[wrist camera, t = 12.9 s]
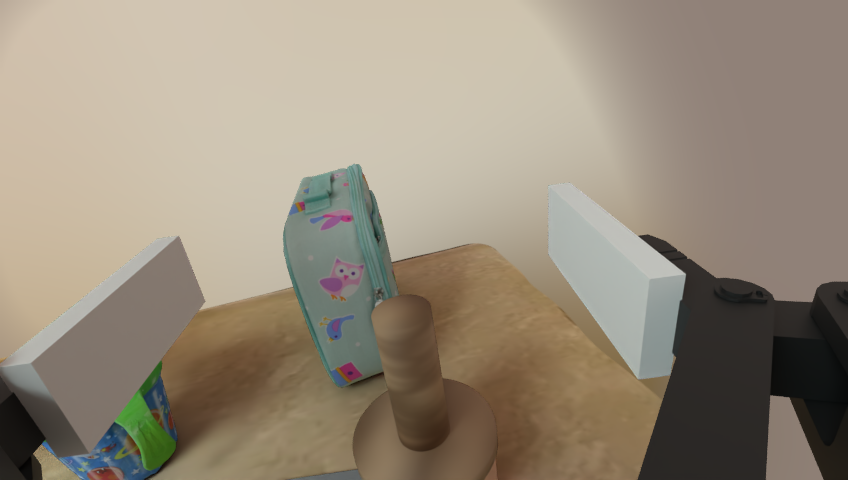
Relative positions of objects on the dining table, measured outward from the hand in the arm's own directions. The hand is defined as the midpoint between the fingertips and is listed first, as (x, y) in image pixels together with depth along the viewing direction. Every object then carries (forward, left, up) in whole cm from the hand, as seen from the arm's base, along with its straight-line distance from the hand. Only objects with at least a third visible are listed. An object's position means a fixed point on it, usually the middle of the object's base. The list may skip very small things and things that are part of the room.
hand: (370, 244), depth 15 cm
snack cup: (-29, +17, -27) cm, 43 cm away
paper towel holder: (0, +10, -21) cm, 24 cm away
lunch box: (-8, +33, -27) cm, 43 cm away
